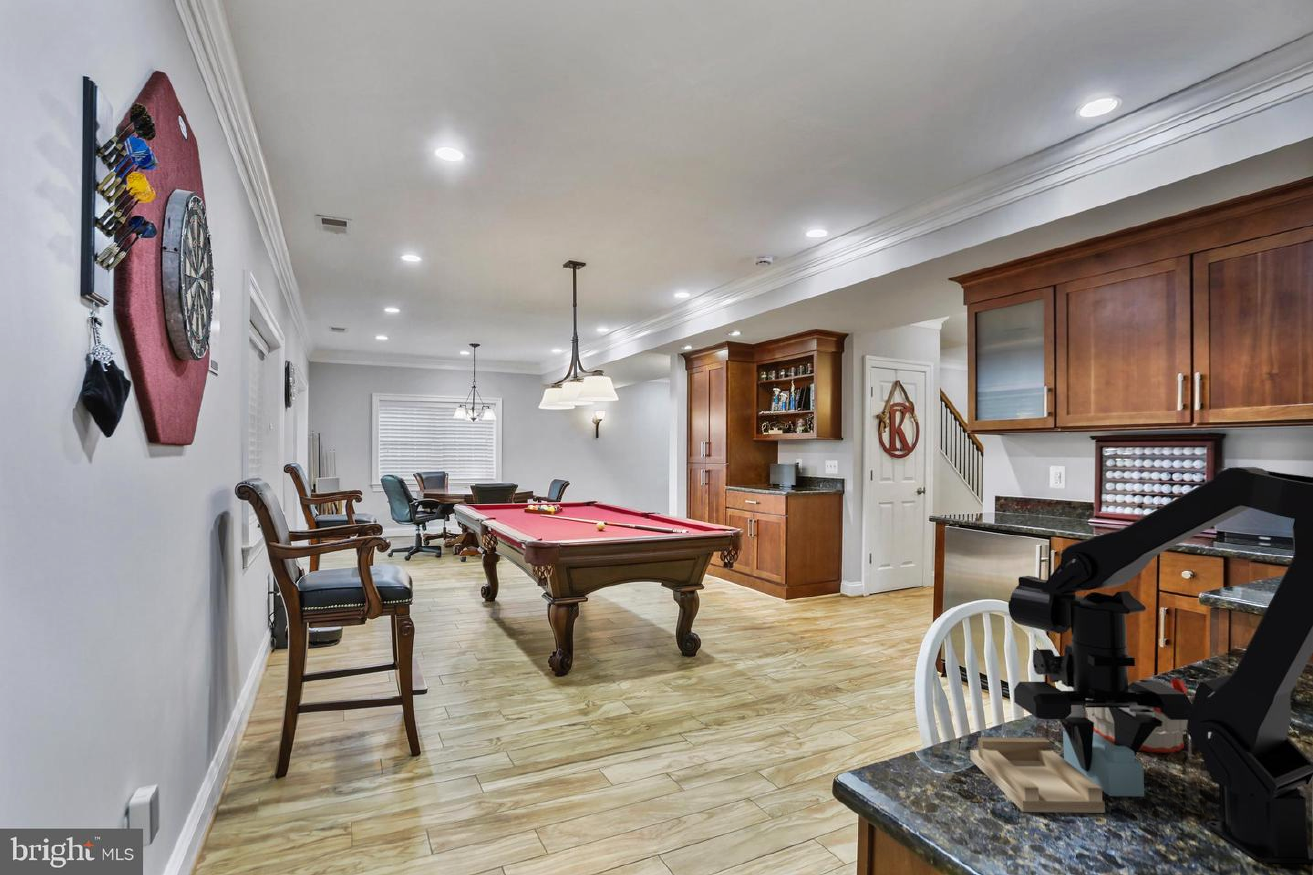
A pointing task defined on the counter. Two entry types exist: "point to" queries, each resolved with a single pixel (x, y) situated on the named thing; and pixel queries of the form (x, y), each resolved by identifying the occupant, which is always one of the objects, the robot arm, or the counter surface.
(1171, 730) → the toy
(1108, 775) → the blue stepped block
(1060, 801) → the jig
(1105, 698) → the robot arm
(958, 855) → the counter surface
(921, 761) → the counter surface
